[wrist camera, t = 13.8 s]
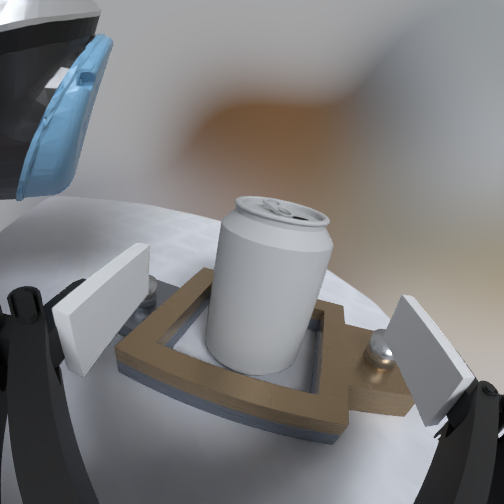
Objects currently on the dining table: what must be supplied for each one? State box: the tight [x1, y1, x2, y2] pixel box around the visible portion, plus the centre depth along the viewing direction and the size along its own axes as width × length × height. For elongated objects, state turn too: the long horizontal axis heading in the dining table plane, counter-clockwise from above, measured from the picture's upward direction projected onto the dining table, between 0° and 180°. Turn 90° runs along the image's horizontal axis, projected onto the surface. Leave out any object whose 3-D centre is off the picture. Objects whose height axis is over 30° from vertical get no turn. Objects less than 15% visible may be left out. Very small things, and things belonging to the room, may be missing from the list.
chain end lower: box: [117, 275, 340, 445], centre depth 22 cm, size 21×15×3 cm
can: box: [206, 196, 333, 375], centre depth 20 cm, size 8×8×12 cm
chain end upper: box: [115, 267, 415, 435], centre depth 21 cm, size 21×15×4 cm
